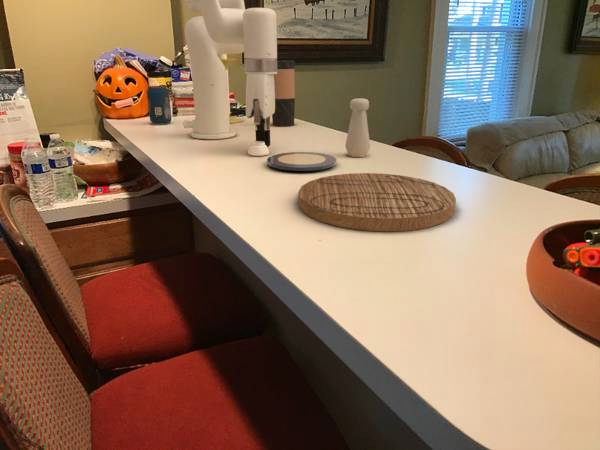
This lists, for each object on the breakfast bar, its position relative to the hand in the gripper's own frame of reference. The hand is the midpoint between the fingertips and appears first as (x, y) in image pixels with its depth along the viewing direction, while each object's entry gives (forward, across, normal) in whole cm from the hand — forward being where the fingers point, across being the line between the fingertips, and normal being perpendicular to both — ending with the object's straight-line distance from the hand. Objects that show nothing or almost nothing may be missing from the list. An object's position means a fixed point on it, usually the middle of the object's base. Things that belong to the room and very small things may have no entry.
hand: (263, 146), depth 115 cm
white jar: (+2, +3, 0) cm, 4 cm away
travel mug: (+2, -42, -4) cm, 43 cm away
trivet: (+1, +36, +28) cm, 46 cm away
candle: (+2, -46, -26) cm, 53 cm away
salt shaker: (+2, 0, +23) cm, 23 cm away
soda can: (+2, -38, -46) cm, 59 cm away
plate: (+1, +12, +12) cm, 17 cm away
